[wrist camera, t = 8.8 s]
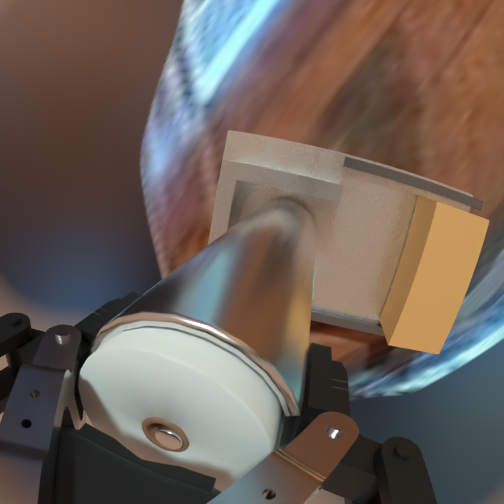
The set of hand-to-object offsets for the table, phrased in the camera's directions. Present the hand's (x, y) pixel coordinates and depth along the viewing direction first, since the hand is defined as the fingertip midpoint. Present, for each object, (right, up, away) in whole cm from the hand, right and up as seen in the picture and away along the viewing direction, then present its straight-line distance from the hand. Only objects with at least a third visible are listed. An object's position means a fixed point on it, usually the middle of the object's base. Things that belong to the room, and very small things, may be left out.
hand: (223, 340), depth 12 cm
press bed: (+11, +4, +21) cm, 24 cm away
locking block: (+19, +2, +18) cm, 27 cm away
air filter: (+4, +5, +19) cm, 20 cm away
